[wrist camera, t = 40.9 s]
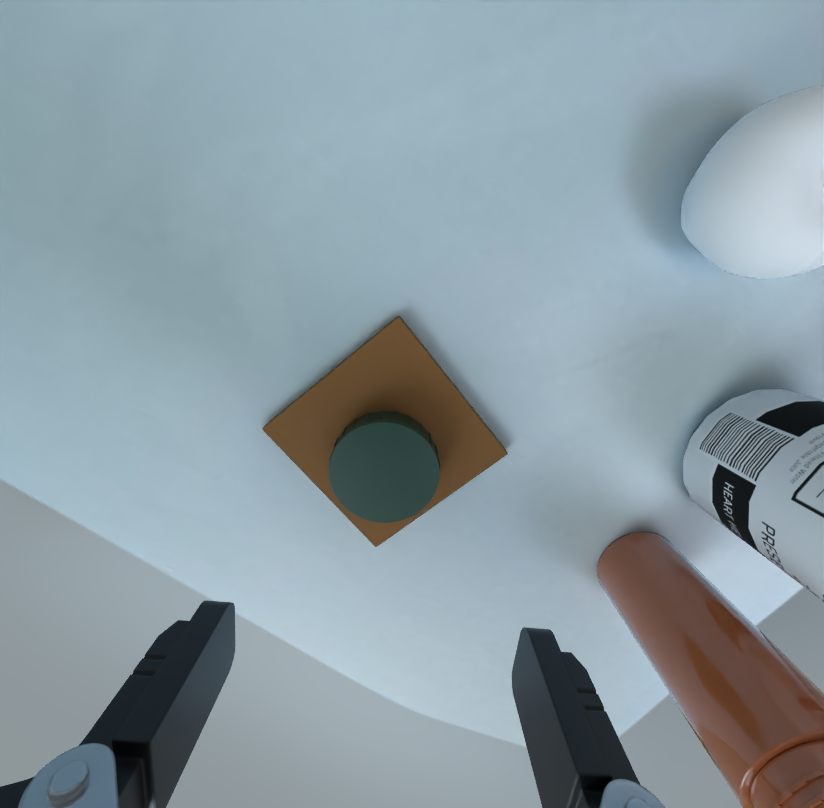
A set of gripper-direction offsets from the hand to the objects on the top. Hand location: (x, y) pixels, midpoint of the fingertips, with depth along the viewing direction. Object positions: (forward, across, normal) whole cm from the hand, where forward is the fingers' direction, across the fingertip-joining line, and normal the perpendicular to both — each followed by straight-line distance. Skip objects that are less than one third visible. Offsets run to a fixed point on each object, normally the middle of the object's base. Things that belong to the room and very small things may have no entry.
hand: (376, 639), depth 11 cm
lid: (+11, 0, 0) cm, 11 cm away
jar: (+13, -16, +6) cm, 22 cm away
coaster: (+13, 0, -1) cm, 13 cm away
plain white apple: (+13, -15, -15) cm, 25 cm away
